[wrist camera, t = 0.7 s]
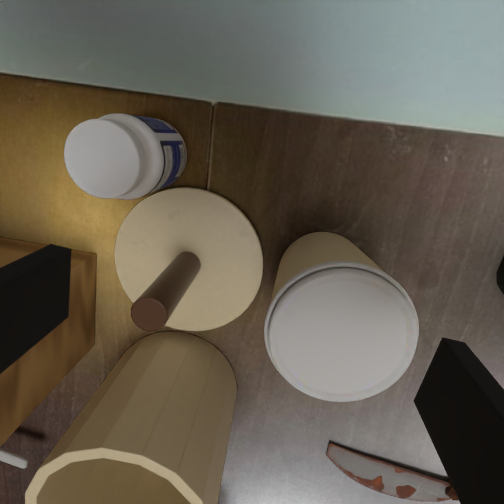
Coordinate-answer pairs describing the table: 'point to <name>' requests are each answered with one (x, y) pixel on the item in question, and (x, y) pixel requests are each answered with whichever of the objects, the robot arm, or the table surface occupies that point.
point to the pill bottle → (124, 156)
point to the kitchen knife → (390, 477)
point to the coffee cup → (338, 321)
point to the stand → (48, 341)
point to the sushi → (501, 277)
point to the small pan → (13, 459)
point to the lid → (187, 260)
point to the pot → (147, 430)
